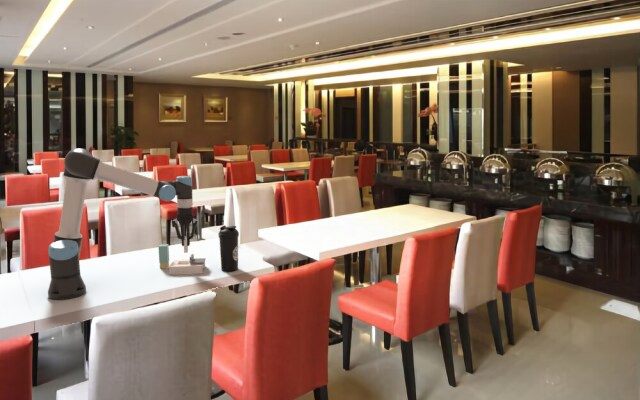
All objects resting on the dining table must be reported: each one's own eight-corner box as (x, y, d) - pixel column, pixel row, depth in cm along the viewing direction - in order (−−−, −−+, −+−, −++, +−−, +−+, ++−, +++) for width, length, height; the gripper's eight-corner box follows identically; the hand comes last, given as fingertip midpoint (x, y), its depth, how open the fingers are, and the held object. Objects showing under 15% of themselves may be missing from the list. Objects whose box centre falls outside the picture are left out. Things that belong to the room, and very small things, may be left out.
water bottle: (235, 273, 247) (234, 229, 243) (216, 271, 249) (215, 228, 245) (242, 267, 257) (241, 224, 253) (224, 266, 259) (222, 223, 255)
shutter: (189, 264, 247) (189, 258, 247) (191, 260, 254) (191, 254, 254) (203, 263, 248) (203, 257, 248) (205, 259, 255) (205, 253, 255)
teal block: (159, 268, 254) (158, 246, 252) (161, 266, 258) (160, 244, 256) (168, 268, 255) (166, 246, 253) (169, 265, 259) (168, 244, 257)
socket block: (169, 274, 245) (169, 266, 244) (174, 267, 256) (173, 259, 256) (202, 273, 246) (201, 265, 246) (205, 266, 258) (204, 259, 258)
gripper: (170, 208, 241) (171, 254, 245) (197, 208, 243) (197, 253, 247) (173, 205, 249) (174, 250, 253) (199, 205, 250) (199, 249, 254)
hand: (186, 251), depth 250 cm, fingers closed
